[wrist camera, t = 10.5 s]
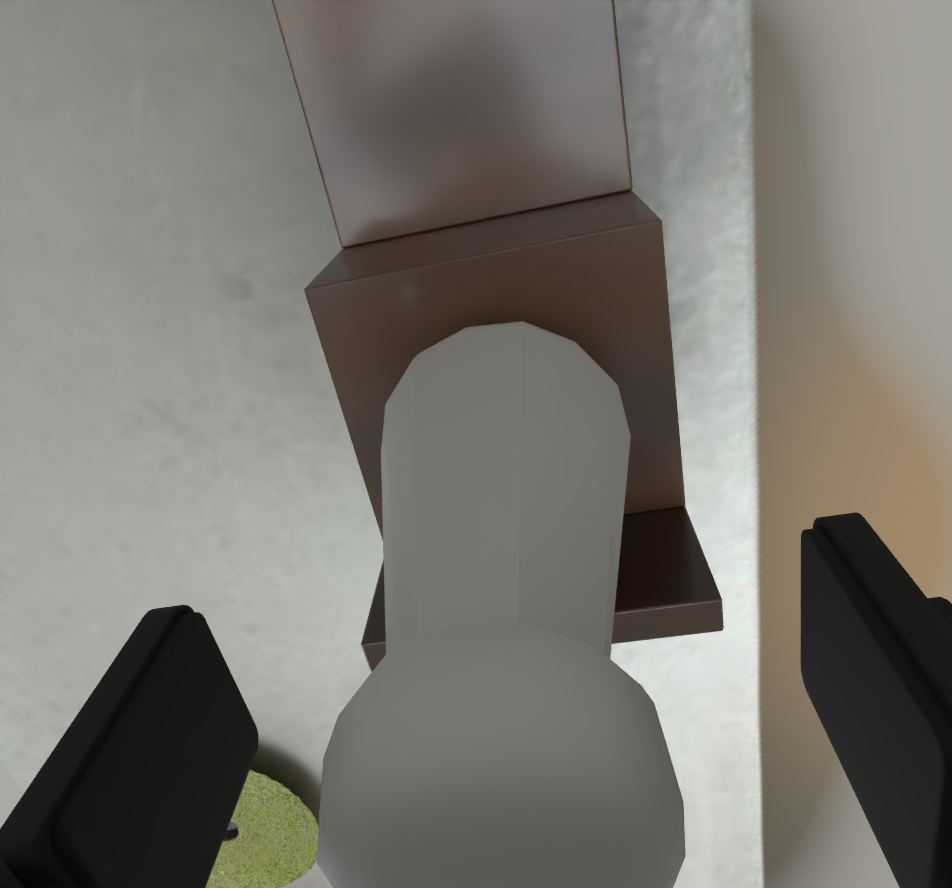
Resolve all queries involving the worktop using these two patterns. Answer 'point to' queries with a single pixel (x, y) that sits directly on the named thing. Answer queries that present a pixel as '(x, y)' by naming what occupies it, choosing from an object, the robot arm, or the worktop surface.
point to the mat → (266, 838)
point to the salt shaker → (501, 641)
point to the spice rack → (495, 238)
